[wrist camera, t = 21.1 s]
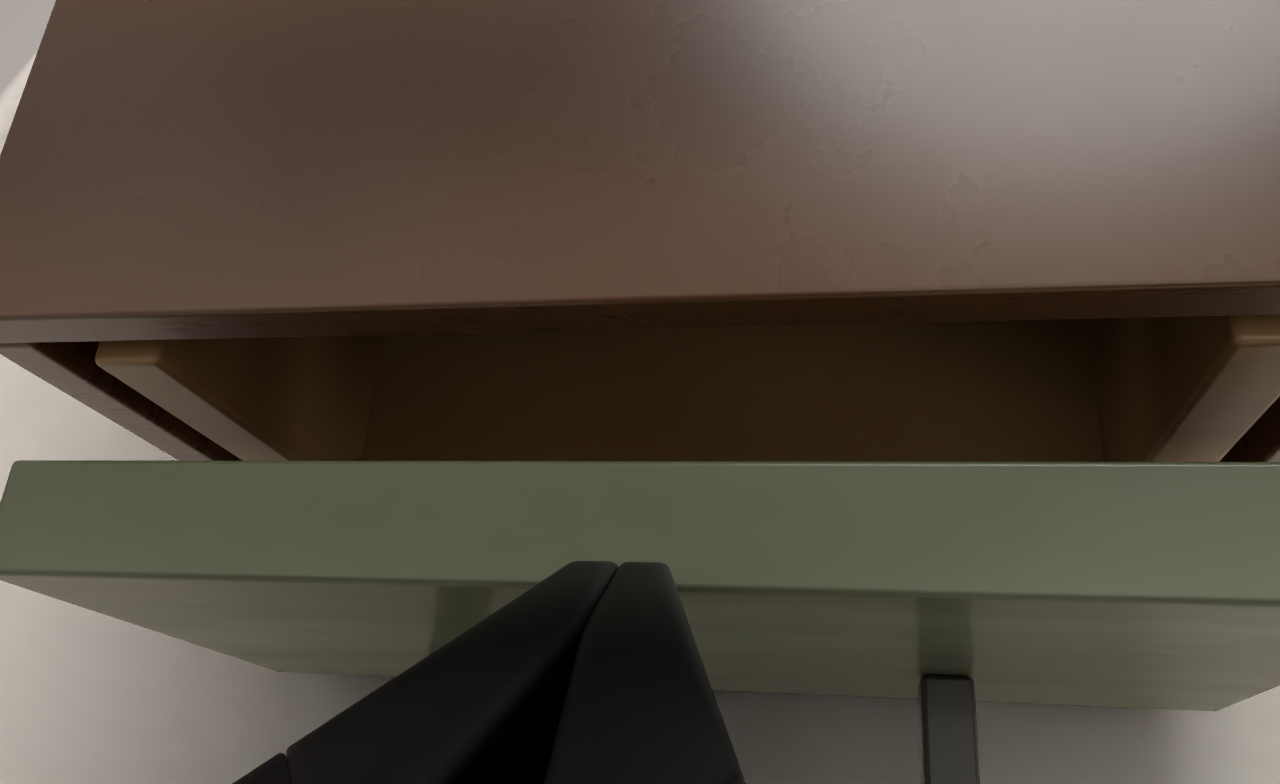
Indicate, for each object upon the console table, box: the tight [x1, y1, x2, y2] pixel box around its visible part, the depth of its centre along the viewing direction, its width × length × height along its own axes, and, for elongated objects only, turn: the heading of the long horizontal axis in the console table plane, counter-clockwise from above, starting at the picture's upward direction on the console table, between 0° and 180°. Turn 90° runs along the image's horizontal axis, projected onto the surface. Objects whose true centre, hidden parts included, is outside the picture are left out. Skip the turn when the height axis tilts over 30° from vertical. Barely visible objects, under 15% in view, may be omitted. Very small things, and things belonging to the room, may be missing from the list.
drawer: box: [0, 314, 1280, 784], centre depth 14 cm, size 18×13×6 cm
